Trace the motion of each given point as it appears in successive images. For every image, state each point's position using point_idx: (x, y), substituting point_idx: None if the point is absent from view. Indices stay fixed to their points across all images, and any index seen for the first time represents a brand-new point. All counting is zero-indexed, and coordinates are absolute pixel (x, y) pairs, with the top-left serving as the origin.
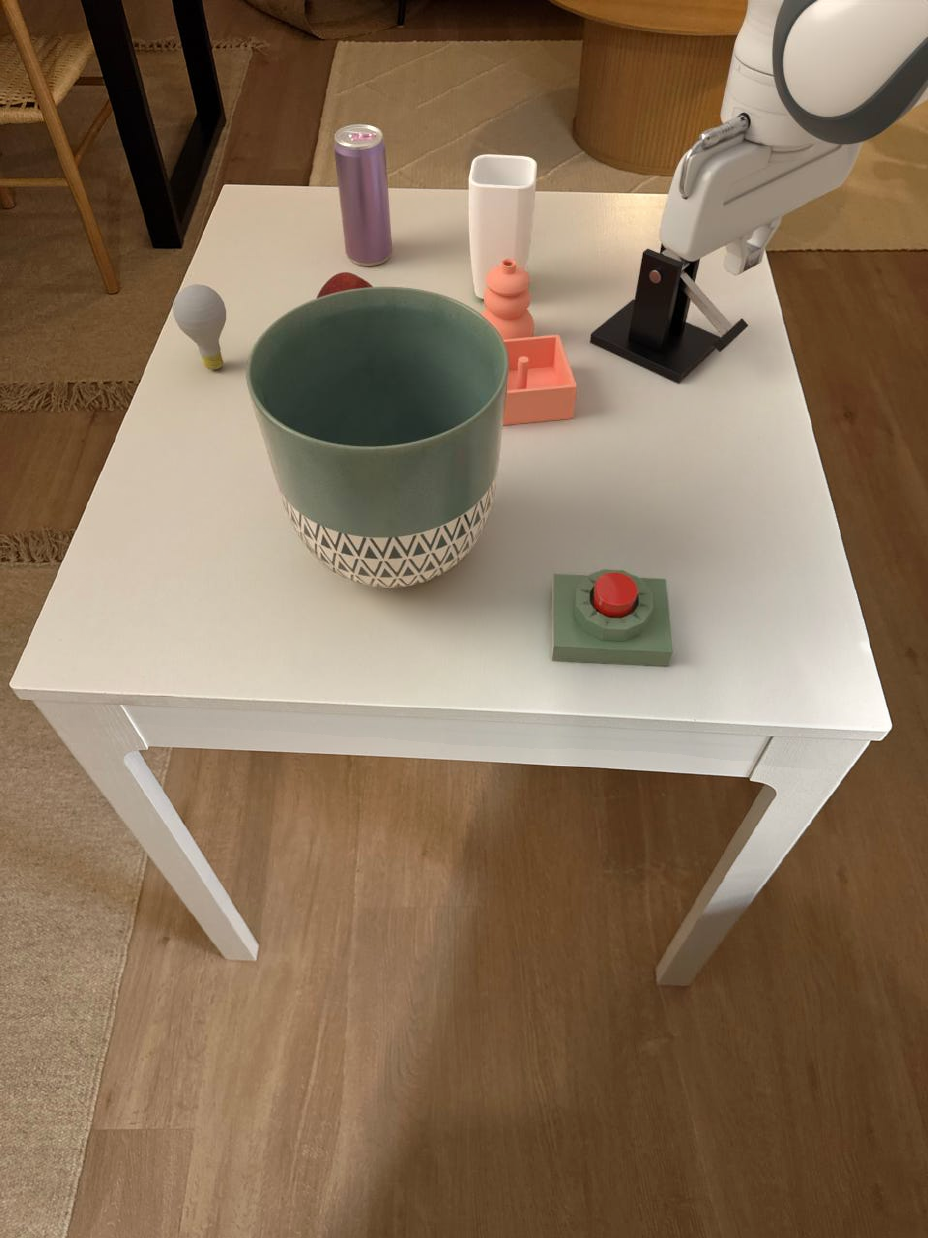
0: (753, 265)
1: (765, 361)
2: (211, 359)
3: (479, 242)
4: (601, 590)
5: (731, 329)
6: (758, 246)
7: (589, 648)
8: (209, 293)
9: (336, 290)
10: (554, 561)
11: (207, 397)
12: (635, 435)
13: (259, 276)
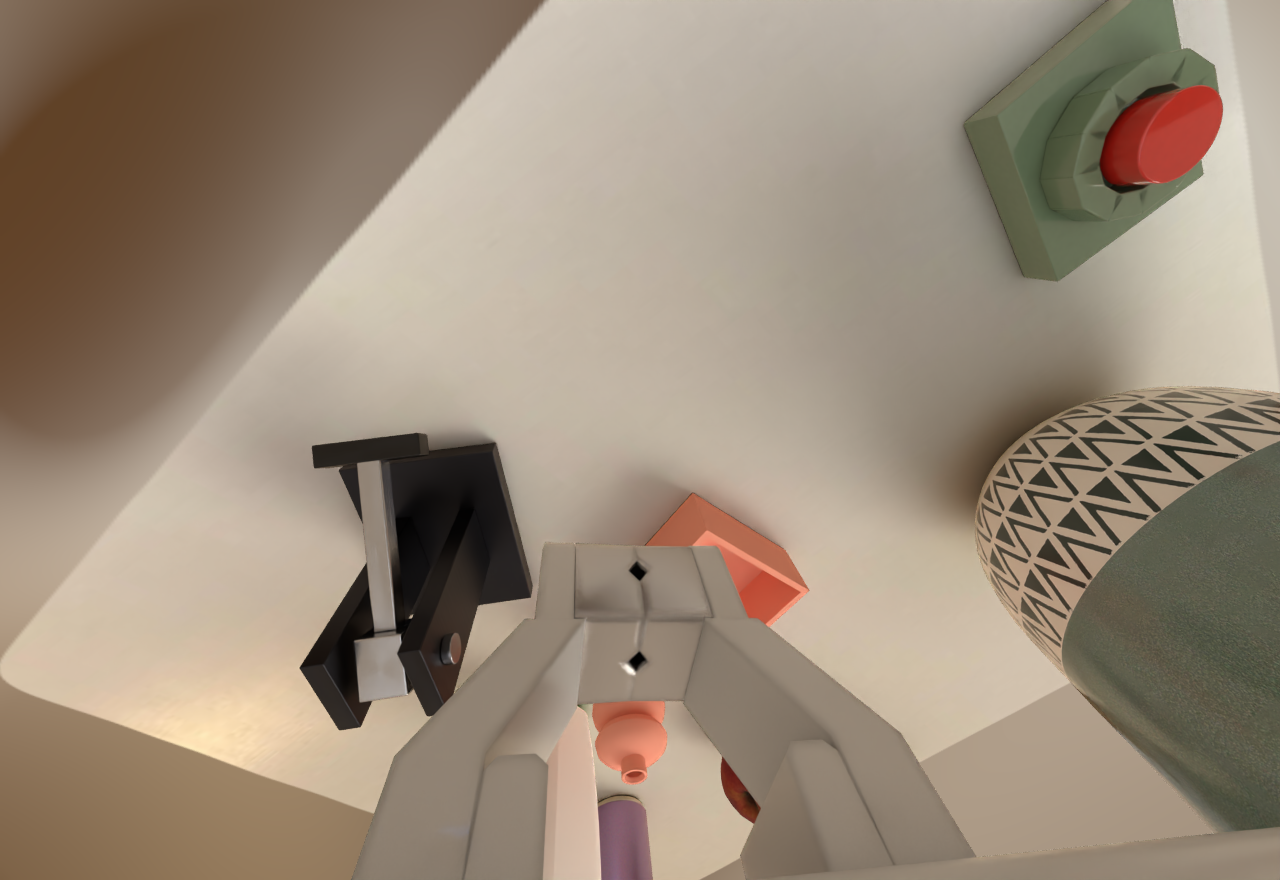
0: (609, 548)
1: (295, 375)
2: None
3: (595, 811)
4: (1193, 156)
5: (368, 458)
6: (582, 638)
7: None
8: None
9: None
10: (970, 312)
11: (914, 727)
12: (657, 407)
13: (730, 823)
